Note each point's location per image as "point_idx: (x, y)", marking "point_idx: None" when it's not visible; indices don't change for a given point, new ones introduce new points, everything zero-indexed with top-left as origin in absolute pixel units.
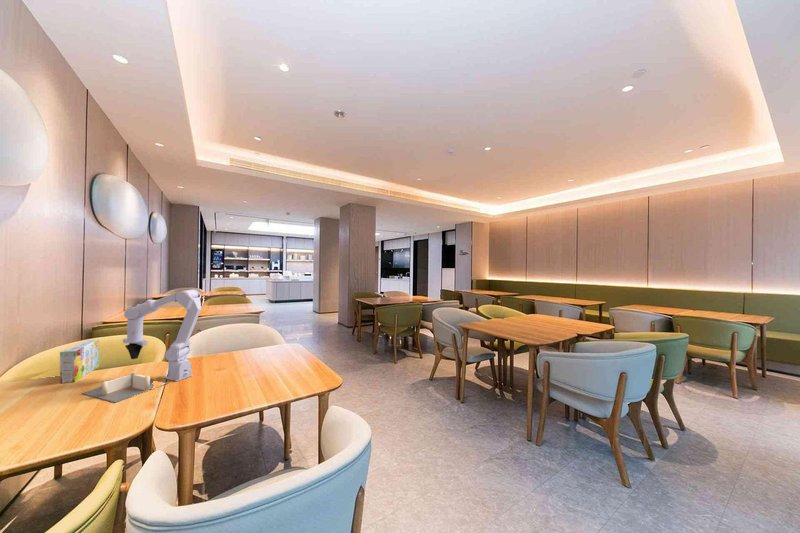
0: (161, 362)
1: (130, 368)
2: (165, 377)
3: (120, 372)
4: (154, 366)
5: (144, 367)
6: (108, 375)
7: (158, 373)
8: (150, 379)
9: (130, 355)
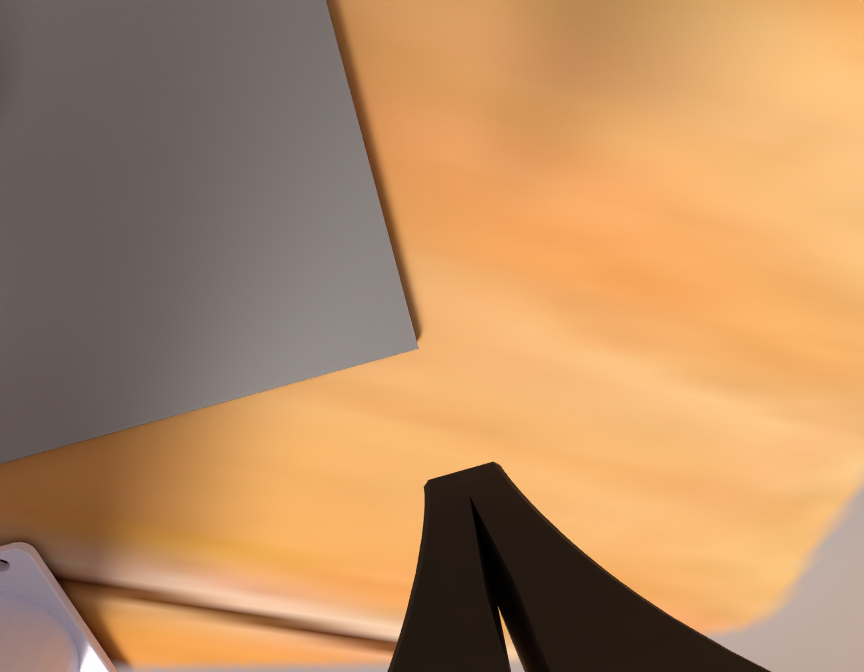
0: (729, 628)
1: (845, 374)
2: (9, 565)
3: (804, 255)
4: (654, 559)
5: (724, 484)
6: (829, 113)
7: (327, 539)
8: (83, 430)
9: (513, 515)
